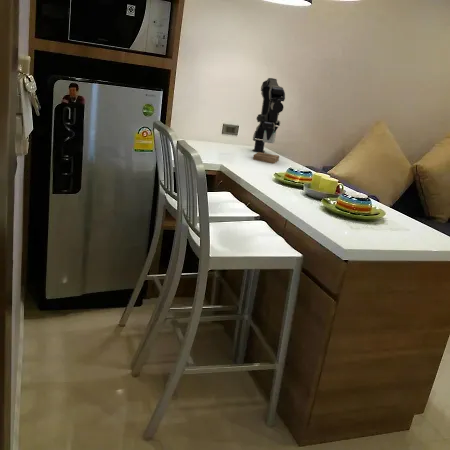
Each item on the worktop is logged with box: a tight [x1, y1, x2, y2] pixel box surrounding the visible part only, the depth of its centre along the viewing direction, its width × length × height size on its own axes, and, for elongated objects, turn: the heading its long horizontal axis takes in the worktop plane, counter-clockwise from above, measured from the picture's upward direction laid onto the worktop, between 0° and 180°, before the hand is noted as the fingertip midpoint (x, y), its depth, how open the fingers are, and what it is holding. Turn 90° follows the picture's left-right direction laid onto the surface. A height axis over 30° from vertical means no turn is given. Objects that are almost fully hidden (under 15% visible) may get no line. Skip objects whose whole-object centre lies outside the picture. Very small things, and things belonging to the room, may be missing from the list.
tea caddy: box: [262, 130, 277, 144], centre depth 284 cm, size 6×6×6 cm
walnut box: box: [252, 152, 280, 164], centre depth 287 cm, size 12×12×3 cm
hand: (269, 139), depth 284 cm, fingers closed on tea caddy, 5 cm apart
